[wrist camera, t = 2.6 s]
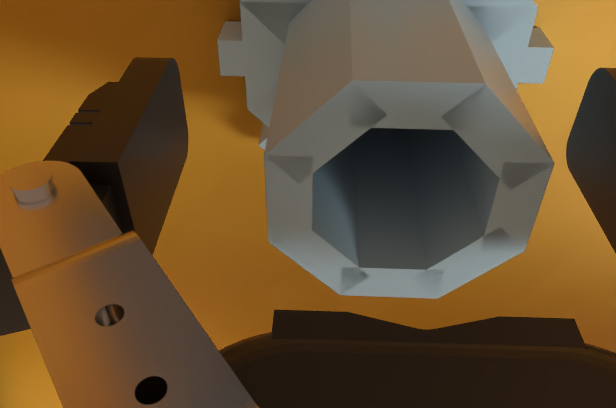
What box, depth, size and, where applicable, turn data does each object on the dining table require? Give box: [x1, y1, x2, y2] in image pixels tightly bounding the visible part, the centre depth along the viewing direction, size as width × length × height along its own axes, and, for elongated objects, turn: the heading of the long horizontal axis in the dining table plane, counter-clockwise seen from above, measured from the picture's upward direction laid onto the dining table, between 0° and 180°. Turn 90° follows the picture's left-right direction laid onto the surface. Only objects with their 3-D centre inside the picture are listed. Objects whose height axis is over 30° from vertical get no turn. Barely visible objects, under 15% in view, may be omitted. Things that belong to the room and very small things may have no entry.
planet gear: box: [217, 0, 554, 299], centre depth 12 cm, size 8×8×7 cm
